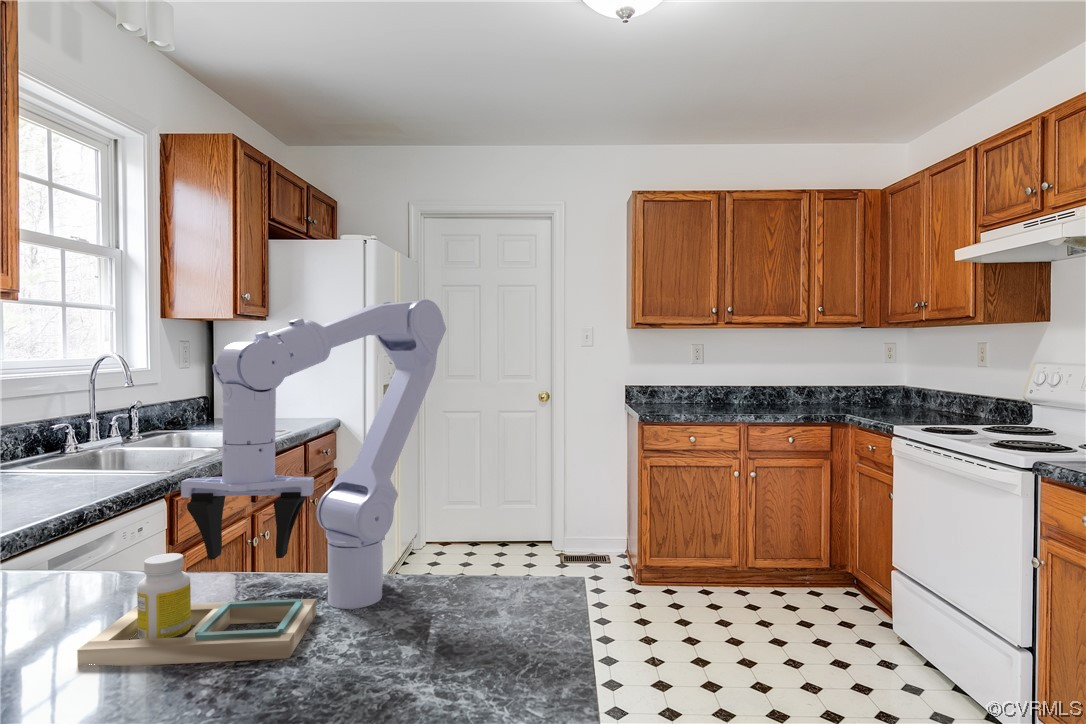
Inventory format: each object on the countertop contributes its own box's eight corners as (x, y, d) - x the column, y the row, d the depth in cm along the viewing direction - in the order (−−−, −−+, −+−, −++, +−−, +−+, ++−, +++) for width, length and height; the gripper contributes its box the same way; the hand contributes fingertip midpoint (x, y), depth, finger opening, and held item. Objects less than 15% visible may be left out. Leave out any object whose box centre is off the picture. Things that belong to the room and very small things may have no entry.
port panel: (137, 621, 80) (137, 601, 80) (316, 614, 82) (316, 594, 82) (77, 668, 68) (77, 645, 68) (289, 658, 70) (289, 636, 70)
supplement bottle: (199, 630, 78) (199, 550, 78) (175, 651, 72) (174, 565, 72) (155, 630, 77) (154, 551, 77) (127, 651, 72) (126, 566, 72)
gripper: (168, 446, 71) (167, 568, 71) (303, 446, 72) (302, 565, 72) (196, 439, 78) (195, 549, 78) (318, 438, 79) (317, 547, 79)
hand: (248, 556), depth 75 cm, fingers open, 7 cm apart
